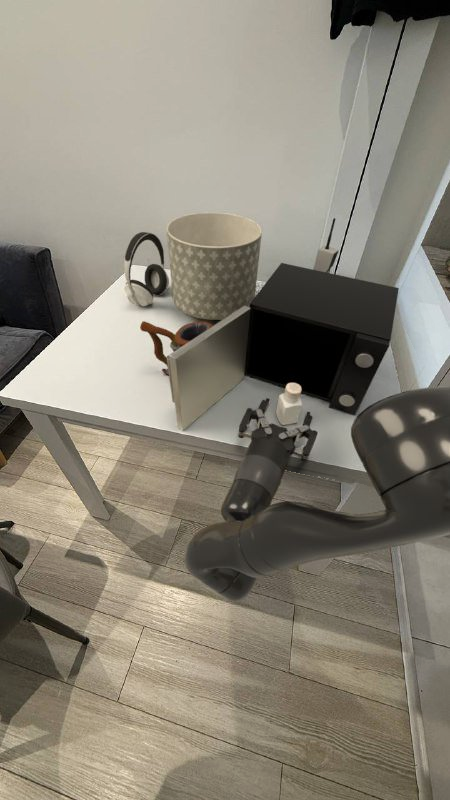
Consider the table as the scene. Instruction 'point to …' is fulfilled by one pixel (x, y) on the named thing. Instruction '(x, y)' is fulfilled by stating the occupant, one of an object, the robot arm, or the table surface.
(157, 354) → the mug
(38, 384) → the table surface
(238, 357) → the microwave door
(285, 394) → the pepper shaker
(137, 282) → the headphones
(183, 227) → the planter
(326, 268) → the vintage mobile phone
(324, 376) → the microwave
